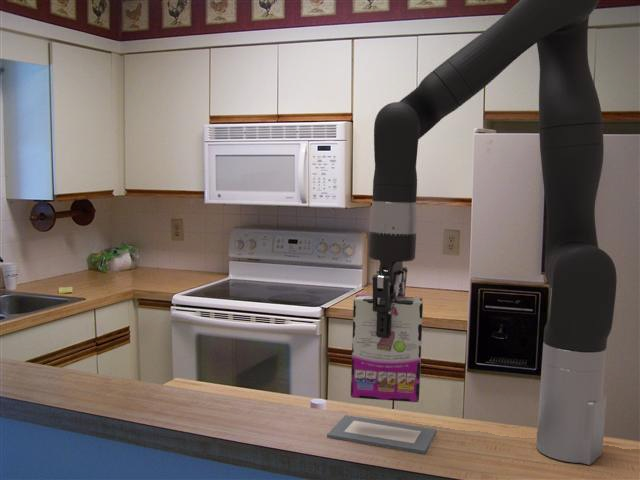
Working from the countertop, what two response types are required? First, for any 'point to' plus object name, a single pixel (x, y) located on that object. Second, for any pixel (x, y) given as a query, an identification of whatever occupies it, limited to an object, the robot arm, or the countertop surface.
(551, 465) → the countertop surface
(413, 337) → the candy bar box
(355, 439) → the card
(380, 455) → the countertop surface
